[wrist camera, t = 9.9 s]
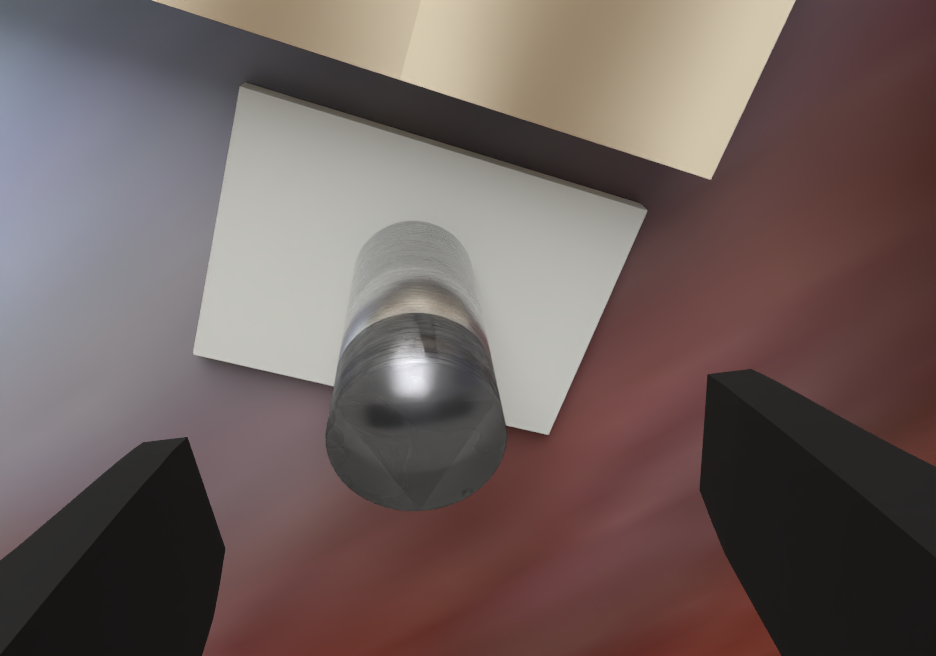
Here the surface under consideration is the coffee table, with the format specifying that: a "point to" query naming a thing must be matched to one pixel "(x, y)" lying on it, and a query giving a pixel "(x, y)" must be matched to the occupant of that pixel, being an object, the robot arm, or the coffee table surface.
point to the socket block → (552, 59)
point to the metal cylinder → (415, 375)
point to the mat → (388, 202)
